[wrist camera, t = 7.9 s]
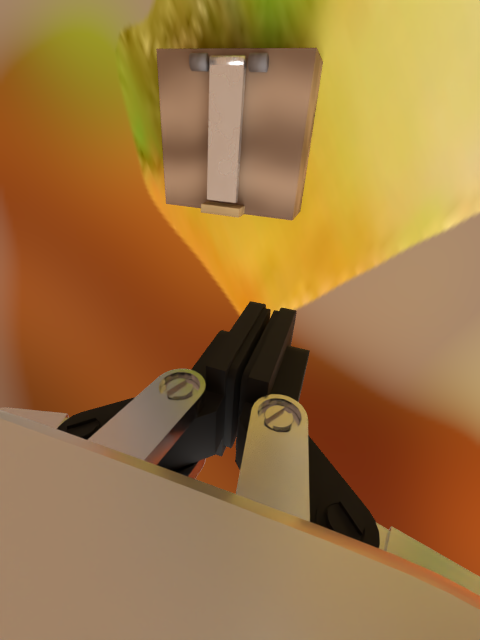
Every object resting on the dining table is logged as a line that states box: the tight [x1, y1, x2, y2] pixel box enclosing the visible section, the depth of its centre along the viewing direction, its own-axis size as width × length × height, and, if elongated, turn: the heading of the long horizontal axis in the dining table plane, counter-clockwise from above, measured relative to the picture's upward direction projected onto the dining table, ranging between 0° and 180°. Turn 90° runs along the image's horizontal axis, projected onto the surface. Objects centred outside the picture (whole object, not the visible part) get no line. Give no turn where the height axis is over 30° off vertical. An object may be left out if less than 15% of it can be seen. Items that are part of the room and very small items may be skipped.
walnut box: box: [157, 48, 323, 220], centre depth 30 cm, size 13×14×7 cm
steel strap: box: [207, 56, 247, 203], centre depth 28 cm, size 11×3×1 cm, turn 177°
